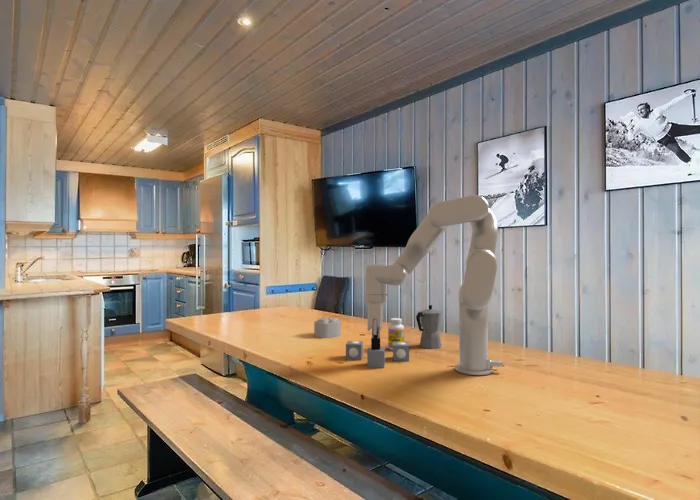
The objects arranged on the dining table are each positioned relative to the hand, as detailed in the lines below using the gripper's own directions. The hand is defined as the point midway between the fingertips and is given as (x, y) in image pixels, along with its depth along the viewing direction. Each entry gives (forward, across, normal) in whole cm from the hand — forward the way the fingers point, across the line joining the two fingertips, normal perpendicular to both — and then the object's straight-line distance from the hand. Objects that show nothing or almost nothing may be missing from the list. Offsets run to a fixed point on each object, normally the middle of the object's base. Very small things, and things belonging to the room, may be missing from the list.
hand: (375, 348), depth 156 cm
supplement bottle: (+6, -26, +7) cm, 28 cm away
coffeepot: (+6, -32, +21) cm, 39 cm away
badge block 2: (+6, -10, +9) cm, 15 cm away
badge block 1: (+6, -10, -9) cm, 15 cm away
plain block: (+6, 0, 0) cm, 6 cm away
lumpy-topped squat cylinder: (+6, -51, -26) cm, 58 cm away
